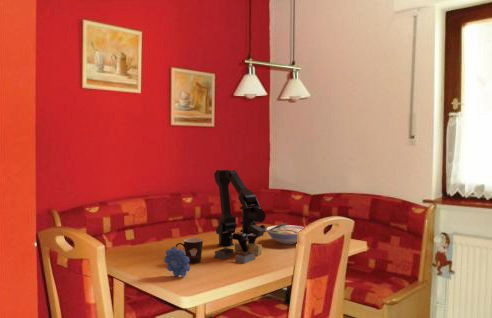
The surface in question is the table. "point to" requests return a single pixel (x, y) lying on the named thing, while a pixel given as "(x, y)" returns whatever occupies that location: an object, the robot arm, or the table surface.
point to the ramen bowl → (284, 233)
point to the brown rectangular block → (249, 248)
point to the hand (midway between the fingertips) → (248, 251)
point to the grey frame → (230, 252)
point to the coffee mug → (193, 249)
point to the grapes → (177, 261)
